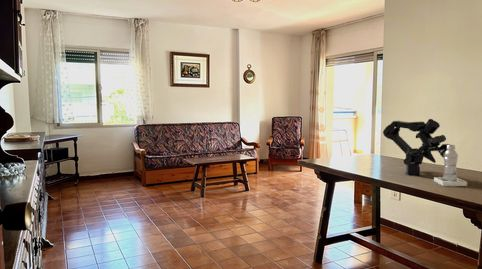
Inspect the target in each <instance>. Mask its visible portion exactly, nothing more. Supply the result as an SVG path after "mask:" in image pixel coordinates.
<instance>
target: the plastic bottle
mask: <svg viewBox="0 0 482 269" xmlns="http://www.w3.org/2000/svg"><path fill="white" fill-rule="evenodd" d="M458 158H459V154H458V153H457V151H456V145H455V144H450V145H447V150H446V151H445V153H444V158H443V161H444V162H443V164H444V166H443V167H444V168H443V174H442V178H443V181H449V182H456V181H457V178H458V175H457V162H458Z"/></svg>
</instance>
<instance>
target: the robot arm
mask: <svg viewBox="0 0 482 269" xmlns="http://www.w3.org/2000/svg"><path fill="white" fill-rule="evenodd" d="M440 127H441V126H440V123H439V122H437V121H436V120H433V119H432V118H428V120H427V121H426V123H425V121H404V120H402V121H401V120H393V121H392V122H391V123H390V124H388V125H386V127H385V128H384V129H383V131H382V134H383V136H384V137H385V138H387V139H388V140H391V141H393V142H394V144H396V145H397V147H399V149H400V150H401V151H403V153H404V154H405V158H404V159H403V164H404V165H406V166H405V168H406V170H405V174H406V175H407V176H421V166H420V165H422V164H423V160H424V158H425V159H426V160H429V161H430V162H432V163H433V164H435V163H436V162H437V161H436V159H435V157H434V156H433V154H432V152H437V153H439V155H440V156H441V157H442V158H443V159H444V153H445V151H446V150H447V145H451V144H450V143H443V142H445V141H447V137H446V136H445V135H444V134H441V135H437V136H434V137H433V136H432V135H434V133H435V132H436V131H437V130H438V129H439V128H440ZM401 128H402V129H407V130H409V131H411V132H414V133H415V132H418V133H416V134H415V138H416V139H420V141H421V146H419V147H418V148H417V147H416V148H413V147H411V146H410V145H409V144H408V143H407V142H406V141H405V140H404V139H403V137H401V136H400V131H401ZM441 143H443V144H441Z"/></svg>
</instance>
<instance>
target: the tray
mask: <svg viewBox="0 0 482 269" xmlns="http://www.w3.org/2000/svg"><path fill="white" fill-rule="evenodd" d="M442 177H443V176H442ZM442 177H440V176H439V177H435V176H434V177H433V178H434V179H433V182H434V183H435V184H436V185H439V186H442V187H457V186H458V187H459V186H466V188H467V187H468V182H467V181H466V180H464V179H461V178H459V177H457V181H456V182H449V181H443V178H442Z"/></svg>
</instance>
